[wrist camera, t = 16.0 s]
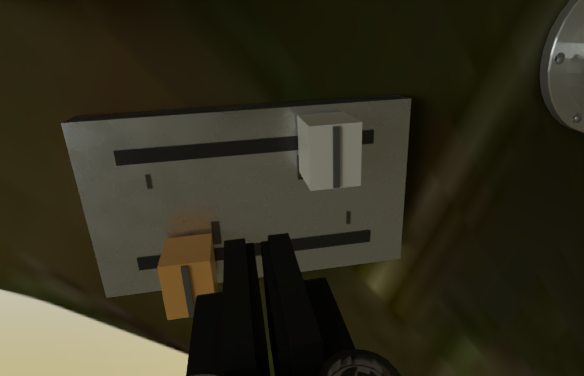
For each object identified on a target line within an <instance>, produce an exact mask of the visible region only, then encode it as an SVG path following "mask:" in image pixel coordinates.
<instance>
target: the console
mask: <svg viewBox="0 0 584 376" xmlns="http://www.w3.org/2000/svg"><path fill="white" fill-rule="evenodd" d="M410 110H411V98H408V97H405V96H401V95H398V94H391V95H376V96H362V97H347V98H333V99H318V100H303V101H289V102H274V103H259V104H245V105H230V106H216V107H201V108H186V109H172V110H157V111H143V112H128V113H113V114H99V115H84V116H74V117H72V118H70V119H68V120H66V121H64V122H62V123H61V126H62V129H63V133H64V137H65V141H66V145H67V149H68V152H69V156H70V160H71V164H72V168H73V171H74V175H75V179H76V183H77V187H78V191H79V194H80V198H81V202H82V206H83V210H84V213H85V217H86V221H87V225H88V229H89V233H90V236H91V240H92V244H93V248H94V252H95V255H96V259H97V263H98V267H99V271H100V275H101V278H102V282H103V286H104V290H105V294H106V297H107V298H108V297H115V296H123V295H130V294H138V293H146V292H153V291H161V290H162V289H161V284H160V279H159V274H158V269H157V266H158V263H159V259H160V256H161V253H162V249H163V246H164V242H165V239H166V238H174V237H182V236H191V235H200V234H209V233H212V240H213V247H214V255H215V262H216V270H217V277H218V283H221V282H223V266H224V241H226V240H234V239H242V238H245V242H246V243H254V249H255V256H256V264H257V272H258V277H264V276H263V266H262V256H261V245H260V242H262V241H268V235H274V234H283V233H288V234H289V237H290V240H291V243H292V246H293V249H294V252H295V255H296V259H297V262H298V265H299V268H300V271H301V272H304V271H311V270H319V269H326V268H334V267H341V266H349V265H356V264H364V263H371V262H379V261H386V260H394V259H400V256H401V241H402V227H403V212H404V198H405V183H406V168H407V154H408V139H409V124H410ZM332 112H345V113H347V114H348V115H350V116H352V117H354V118H356V119H357V120H359V121H361V122H362V153H361V186H354V187H345V188H335V189H325V190H315V191H310V189H309V187H308V186H307V184H306V182H305V181H304V179H303V177H302V176H301V174H300V172H299V154H298V127H297V115H304V114H318V113H332Z"/></svg>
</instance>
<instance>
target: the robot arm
mask: <svg viewBox="0 0 584 376" xmlns="http://www.w3.org/2000/svg"><path fill="white" fill-rule="evenodd" d="M540 85H541V93H542V96H543V99H544V102H545V105H546V107H547V108H548V110H549V112H550V113H551V115H552V116H553V117H554V118H555V119H556V120H557V121H558V122H559V123H560V124H562V125H564V126H566V127H567V128H569V129H572V130H576V131H579V132H583V133H584V0H570V1H569V2H568V3H567V5H566V6H565V7H564V9H563V10H562V11H561V13H560V14H559V16H558V17H557V19H556V21H555V23H554V25H553V26H552V28H551V30H550V33H549V35H548V38H547V41H546V43H545V46H544V50H543V54H542V59H541V65H540ZM260 245H261V256H262V266H263V276H264V287H265V297H266V307H267V318H268V328H269V336H270V343H271V350H272V358H273V365H274V372H275V376H401V375H400V374H399V372H398V371H397V369H396V368H395V367H394V366H393V365H392V364H391V363H390V362H389V361H388V360H387V359H385V358H383V357H382V356H380V355H378V354H376V353H373V352H370V351H367V350H358V349H355V347H354V344H353V342H352V340H351V337H350V335H349V332H348V330H347V328H346V325H345V323H344V320H343V318H342V316H341V313H340V311H339V308H338V306H337V304H336V301H335V299H334V296H333V294H332V292H331V289H330V287H329V284H328V282H327V280H326V278H317V279H310V280H303V277H302V274H301V271H300V268H299V265H298V262H297V259H296V255H295V252H294V249H293V246H292V243H291V240H290V237H289V234H288V233H283V234H274V235H268V241H262V242H260ZM186 376H270V370H269V360H268V351H267V342H266V334H265V327H264V319H263V311H262V303H261V295H260V288H259V280H258V272H257V264H256V256H255V249H254V243H246V242H245V238H242V239H234V240H226V241H224V266H223V292H216V293H209V294H202V295H197V297H196V302H195V310H194V318H193V326H192V334H191V341H190V349H189V357H188V365H187V374H186Z"/></svg>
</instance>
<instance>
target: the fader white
mask: <svg viewBox="0 0 584 376" xmlns="http://www.w3.org/2000/svg"><path fill="white" fill-rule="evenodd" d="M297 127H298V154H299V172H300V174H301V176H302V177H303V179H304V181H305V182H306V184H307V186H308V187H309V189H310V191H315V190H325V189H335V188H345V187H354V186H361V153H362V122H361V121H359V120H357V119H356V118H354V117H352V116H350V115H348V114H347V113H345V112H332V113H318V114H304V115H297Z"/></svg>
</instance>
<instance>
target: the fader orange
mask: <svg viewBox="0 0 584 376" xmlns="http://www.w3.org/2000/svg"><path fill="white" fill-rule="evenodd" d="M157 269H158V274H159V279H160V284H161V289H162V295H163V300H164V305H165V310H166V315H167V320H171V319H178V318H185V317H189V318H190V317H194V310H195V302H196V297H197V295H202V294H209V293H216V292H218V277H217V270H216V262H215V255H214V247H213V240H212V233H209V234H200V235H191V236H182V237H174V238H166V239H165V242H164V246H163V249H162V253H161V256H160V259H159V263H158V266H157Z"/></svg>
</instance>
